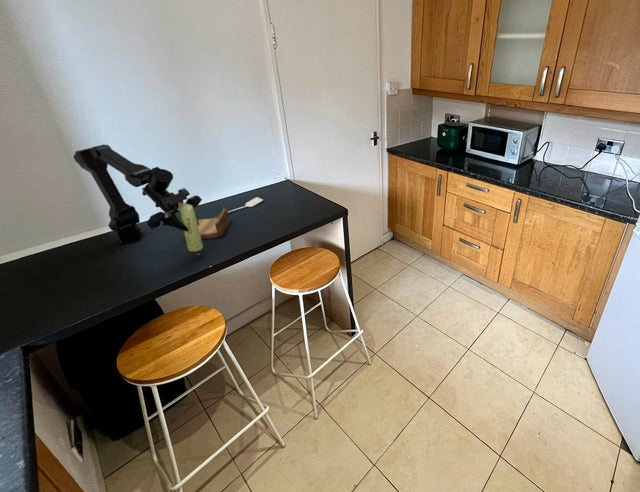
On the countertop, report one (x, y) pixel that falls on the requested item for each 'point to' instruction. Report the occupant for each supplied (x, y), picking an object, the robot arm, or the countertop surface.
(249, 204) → the spatula
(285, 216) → the countertop surface
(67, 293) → the countertop surface
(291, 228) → the countertop surface
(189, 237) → the tube
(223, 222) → the wooden stand
